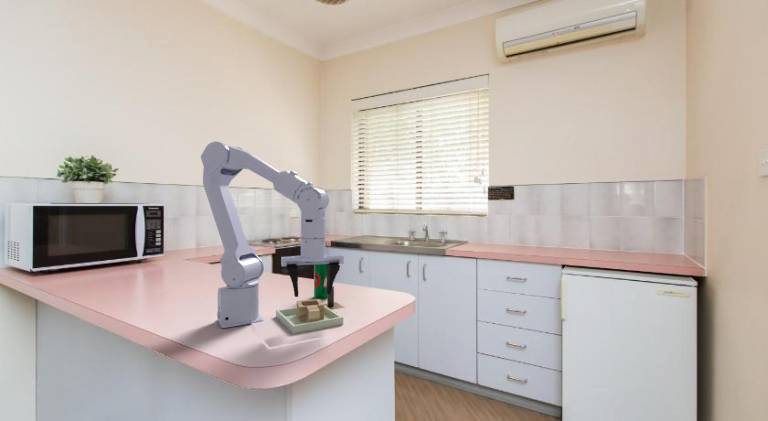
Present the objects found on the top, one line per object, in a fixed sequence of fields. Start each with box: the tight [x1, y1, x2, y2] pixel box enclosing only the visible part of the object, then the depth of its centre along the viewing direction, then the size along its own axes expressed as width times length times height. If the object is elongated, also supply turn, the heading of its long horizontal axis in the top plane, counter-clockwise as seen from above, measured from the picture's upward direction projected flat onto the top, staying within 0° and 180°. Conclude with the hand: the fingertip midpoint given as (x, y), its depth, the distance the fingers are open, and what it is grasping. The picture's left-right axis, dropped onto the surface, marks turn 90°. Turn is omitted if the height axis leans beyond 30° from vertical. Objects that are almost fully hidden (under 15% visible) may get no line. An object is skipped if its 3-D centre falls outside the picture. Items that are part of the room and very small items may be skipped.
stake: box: [323, 285, 346, 311], centre depth 100 cm, size 6×6×6 cm
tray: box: [275, 306, 344, 335], centre depth 88 cm, size 12×14×2 cm
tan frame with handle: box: [296, 298, 325, 323], centre depth 89 cm, size 10×6×4 cm, turn 20°
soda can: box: [313, 261, 327, 300], centre depth 111 cm, size 5×5×12 cm
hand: (312, 294), depth 86 cm, fingers open, 7 cm apart
